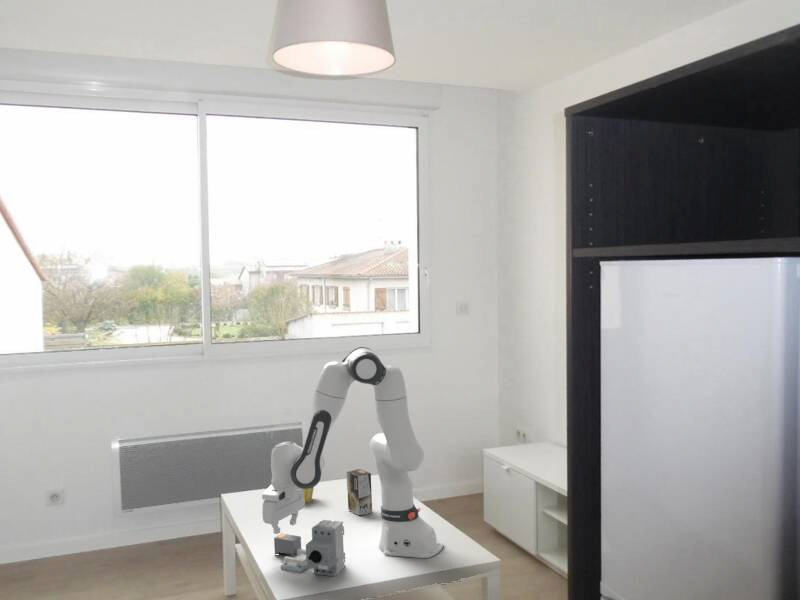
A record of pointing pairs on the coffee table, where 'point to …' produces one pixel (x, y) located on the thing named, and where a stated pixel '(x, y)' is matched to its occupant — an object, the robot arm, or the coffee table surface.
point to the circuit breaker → (326, 548)
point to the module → (287, 544)
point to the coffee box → (359, 491)
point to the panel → (296, 561)
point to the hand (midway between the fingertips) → (285, 528)
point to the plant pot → (308, 494)
